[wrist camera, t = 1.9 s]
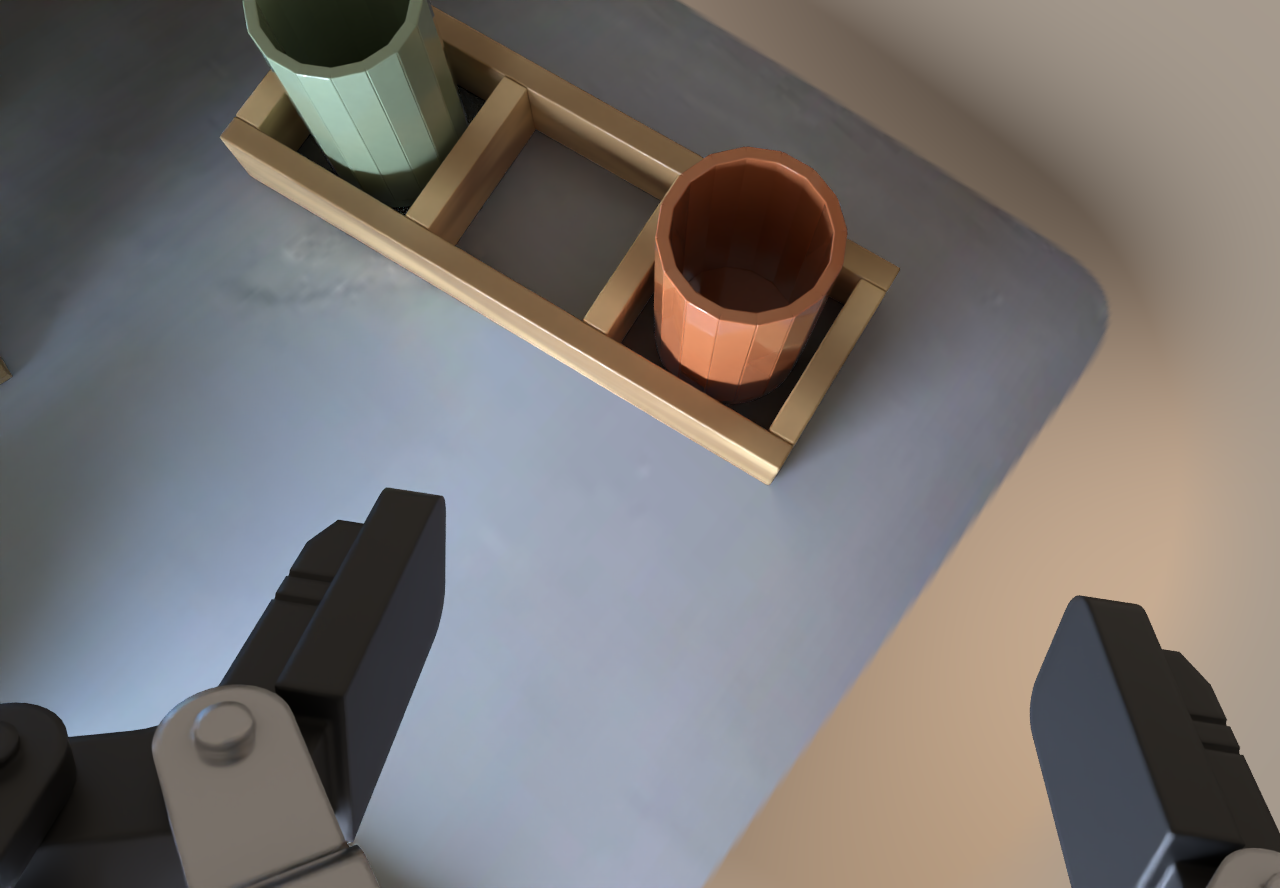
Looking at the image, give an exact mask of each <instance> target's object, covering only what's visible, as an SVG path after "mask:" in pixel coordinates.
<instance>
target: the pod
mask: <svg viewBox="0 0 1280 888" xmlns="http://www.w3.org/2000/svg"><path fill="white" fill-rule="evenodd" d="M242 3H243V8H244V14H245V20H246V25H247V31H248V33H249V35H250V36H251V38H252V40H253V41H254V43H255V45H256V46H257V48H258V49H259V51H260V53H261V54H262V56H263V57H264V59H265V61H266V62H267V64H268V66H269V67H270V69H271V70H272V72H273V74H274V75H275V77H276V78H277V80H278V82H279V83H280V85H281V87H282V88H283V90H284V91H285V93H286V95H287V96H288V98H289V99H290V101H291V103H292V104H293V106H294V107H295V109H296V111H297V112H298V114H299V116H300V117H301V119H302V120H303V122H304V124H305V125H306V127H307V128H308V130H309V132H310V133H311V135H312V137H313V138H314V140H315V141H316V143H317V145H318V146H319V148H320V149H321V151H322V153H323V154H324V156H325V158H326V159H327V161H328V162H329V164H330V165H331V167H332V168H333V170H334V171H335V172H336V174H337V175H338V177H340V178H341V179H343V180H345V181H346V182H348V183H350V184H352V185H353V186H355V187H357V188H358V189H360V190H362V191H363V192H365V193H367V194H368V195H370V196H372V197H374V198H375V199H377V200H379V201H380V202H382V203H384V204H385V205H387V206H389V207H408V206H412V205H413V203H414V202H415V201H416V199H417V198H418V196H419V195H420V194H421V192H422V191H423V189H424V188H425V187H426V185H427V184H428V182H429V181H430V180H431V178H432V177H433V175H434V174H435V173H436V171H437V170H438V168H439V167H440V165H441V164H442V163H443V161H444V160H445V158H446V157H447V156H448V154H449V153H450V151H451V150H452V149H453V147H454V146H455V144H456V143H457V142H458V140H459V139H460V137H461V136H462V135H463V133H464V132H465V130H466V129H467V128H468V126H469V124H468V121H467V118H466V113H465V109H464V105H463V102H462V99H461V96H460V93H459V90H458V87H457V84H456V80H455V77H454V74H453V71H452V68H451V65H450V62H449V59H448V56H447V52H446V49H445V46H444V43H443V40H442V37H441V34H440V31H439V28H438V25H437V21H436V18H435V15H434V12H433V9H432V6H431V3H430V0H243V2H242Z"/></svg>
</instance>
